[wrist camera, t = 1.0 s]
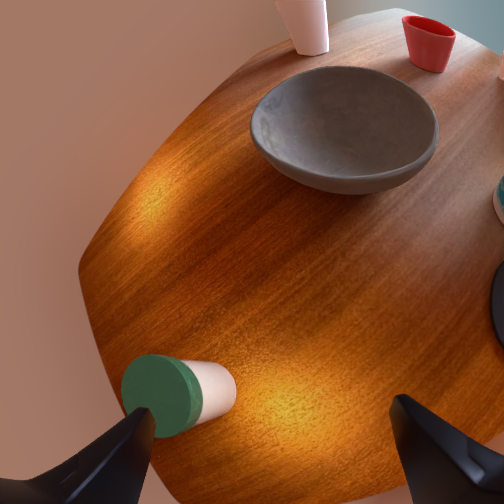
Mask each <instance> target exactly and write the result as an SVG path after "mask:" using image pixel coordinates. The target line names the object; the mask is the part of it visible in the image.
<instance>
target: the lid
mask: <svg viewBox="0 0 504 504" xmlns="http://www.w3.org/2000/svg"><path fill="white" fill-rule="evenodd" d="M121 395H122V401H123V405H124V408H125V410H126V412H127V414H128V415H129V414H130V413H131V412H133V411H134V410H135V409H136V408H138V407H145V408H149V409H150V411H151V413H152V415H153V417H154V419H155V421H156V430H155V435H154V437H157V438H168V437H172V436H175V435H178V434H181V433H184V432H186V431H188V430H189V429H191V428H192V427H193V426H194V425H195V424H196V423H197V421H198V420H199V417H200V415H201V412H202V408H203V394H202V389H201V386H200V383H199V381H198V379H197V377H196V376H195V374H194V373H193V371H192V370H191V369H190V368H189V367H188V366H187V365H186V364H185V363H184V362H182V361H180V360H179V359H176V358H174V357H170V356H163V355H154V354H148V355H143V356H140V357H138V358H137V359H135V360H134V361H133V362H132V363H131V364H130V365H129V366H128V368H127V369H126V371H125V373H124V376H123V379H122V385H121Z"/></svg>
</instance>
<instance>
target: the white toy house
mask: <svg viewBox="0 0 504 504" xmlns="http://www.w3.org/2000/svg"><path fill="white" fill-rule="evenodd" d="M498 77H499V78H500V79H501V80H503V81H504V51H503V56H502V61H501V66H500V70H499V75H498Z"/></svg>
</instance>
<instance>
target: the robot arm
mask: <svg viewBox="0 0 504 504" xmlns="http://www.w3.org/2000/svg"><path fill="white" fill-rule="evenodd" d="M389 415H390V420H391V424H392V429H393V434H394V439H395V443H396V448H397V451H398V454H399V457H400V460H401V463H402V466H403V469H404V473H405V476H406V479H407V482H408V486H409V489H410V493H411V496H412V500H413V503H414V504H504V456H503V455H501V454H499V453H497V452H495V451H492V450H490V449H489V448H487V447H485V446H483V445H481V444H480V443H478V442H476V441H475V440H473V439H472V438H470V437H468V436H467V435H465V434H464V433H462V432H461V431H459V430H458V429H456V428H455V427H453V426H452V425H450V424H449V423H447V422H446V421H444V420H443V419H441V418H440V417H438V416H437V415H436V414H434V413H433V412H431V411H430V410H428V409H427V408H425V407H424V406H422V405H421V404H420V403H418V402H417V401H415V400H414V399H412V398H411V397H410V396H408V395H407V394H400V395H396V396H395V397H394V399H393V401H392V404H391V407H390V410H389ZM155 430H156V421H155V419H154V417H153V415H152V413H151V411H150V409H149V408H145V407H138V408H136V409H135V410H134V411H133V412H131V413H130V414H129V415H127V416H126V417H125V418H124V419H122V420H121V421H120V422H118V423H117V424H116V425H115V426H113V427H112V428H111V429H109V430H108V431H107V432H105V433H104V434H103V435H101V436H100V437H99V438H97V439H96V440H95V441H93V442H92V443H91V444H89V445H88V446H86V447H85V448H84V449H82V450H81V451H79V452H78V454H75V455H74V456H72V457H71V458H69V459H68V460H66V461H65V462H63V463H62V464H60V465H58V466H56V467H54V468H53V469H51V470H49V471H47V472H45V473H43V474H41V475H39V476H37V477H35V478H32V479H29V480H12V479H4V478H0V504H138V501H139V497H140V493H141V490H142V486H143V482H144V479H145V476H146V472H147V469H148V465H149V462H150V458H151V453H152V447H153V441H154V435H155Z"/></svg>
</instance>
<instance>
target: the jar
mask: <svg viewBox="0 0 504 504" xmlns="http://www.w3.org/2000/svg"><path fill="white" fill-rule="evenodd" d="M179 360H180V361H182V362H184V363H185V364H186V365H187V366H188V367H189V368H190V369H191V370H192V371H193V373H194V374H195V376H196V377H197V379H198V381H199V383H200V386H201V389H202V394H203V408H202V412H201V415H200V417H199V420H198V421H197V423H196V424H195V425H194V426H197V425H200V424H202V423H205V422H208V421H210V420H213V419H215V418H218V417H220V416H223V415H224V414H226V413H227V412H228V411H229V410H230V409H231V408H232V407H233V405H234V403H235V400H236V392H237V391H236V384H235V381H234V379H233V377H232V375H231V374H230V373H229V371H228V370H227V369H226V368H225V367H223V366H222V365H220V364H218V363H215V362H212V361H197V360H182V359H179ZM194 426H193V427H194Z"/></svg>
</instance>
